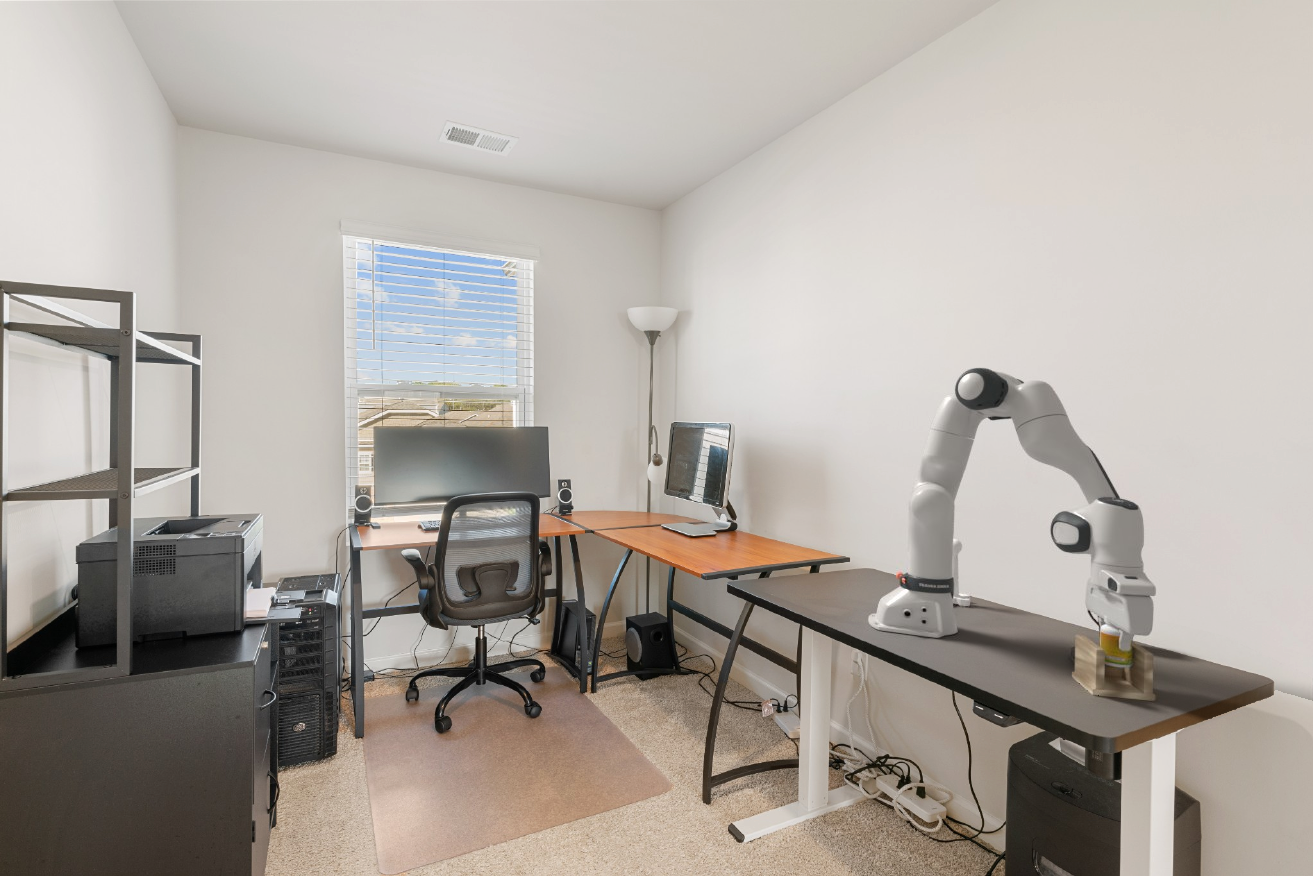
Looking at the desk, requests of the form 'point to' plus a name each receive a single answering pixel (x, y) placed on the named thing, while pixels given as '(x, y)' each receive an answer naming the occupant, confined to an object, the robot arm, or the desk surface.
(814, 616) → the desk surface
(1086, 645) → the holder
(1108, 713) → the desk surface
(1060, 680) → the desk surface
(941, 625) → the robot arm
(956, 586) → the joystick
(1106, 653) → the supplement bottle
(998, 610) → the desk surface
